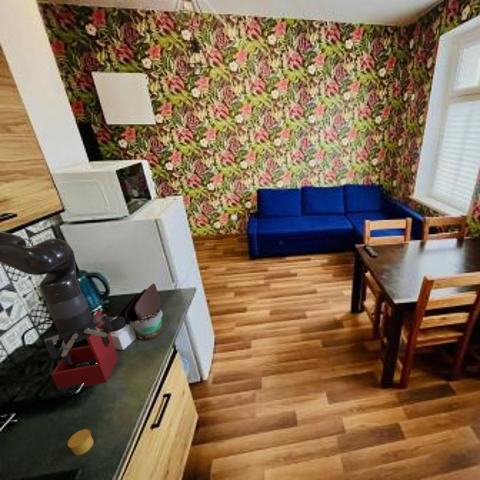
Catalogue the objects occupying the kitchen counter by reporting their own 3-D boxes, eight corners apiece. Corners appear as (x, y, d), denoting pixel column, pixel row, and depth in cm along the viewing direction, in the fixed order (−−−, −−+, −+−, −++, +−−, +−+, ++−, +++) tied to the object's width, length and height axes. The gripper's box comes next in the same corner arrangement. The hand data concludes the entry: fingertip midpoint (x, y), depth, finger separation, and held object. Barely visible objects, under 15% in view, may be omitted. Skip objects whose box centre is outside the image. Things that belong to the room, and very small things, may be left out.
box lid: (82, 331, 86) (100, 328, 87) (98, 309, 96) (114, 307, 97) (97, 364, 92) (114, 360, 93) (110, 340, 102) (125, 337, 103)
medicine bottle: (137, 338, 115) (130, 315, 110) (123, 350, 108) (114, 327, 104) (123, 335, 116) (115, 313, 111) (108, 348, 109) (99, 324, 105)
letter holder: (161, 304, 137) (155, 280, 131) (143, 331, 119) (135, 305, 113) (140, 305, 135) (133, 282, 130) (119, 333, 117) (109, 307, 112)
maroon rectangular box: (59, 392, 91) (50, 374, 88) (76, 365, 101) (69, 349, 98) (106, 381, 95) (99, 364, 92) (118, 357, 105) (112, 341, 102)
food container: (139, 347, 110) (133, 328, 106) (134, 339, 114) (128, 321, 110) (170, 332, 118) (166, 313, 115) (165, 325, 122) (160, 307, 118)
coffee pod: (69, 458, 73) (64, 450, 71) (77, 440, 77) (73, 432, 76) (90, 453, 74) (85, 444, 73) (97, 435, 79) (93, 426, 77)
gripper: (97, 293, 80) (112, 335, 87) (31, 317, 70) (54, 363, 76) (105, 302, 76) (121, 345, 83) (36, 329, 66) (60, 376, 72)
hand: (89, 354), depth 79 cm, fingers open, 8 cm apart
